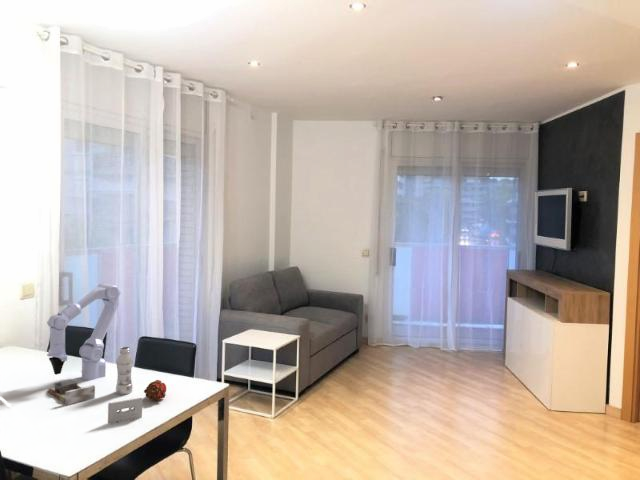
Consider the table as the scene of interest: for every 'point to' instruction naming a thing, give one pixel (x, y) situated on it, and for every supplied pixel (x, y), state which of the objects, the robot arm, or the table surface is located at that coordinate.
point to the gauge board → (75, 395)
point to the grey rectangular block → (65, 386)
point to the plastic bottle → (124, 372)
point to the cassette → (124, 415)
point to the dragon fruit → (155, 390)
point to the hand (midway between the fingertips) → (57, 373)
